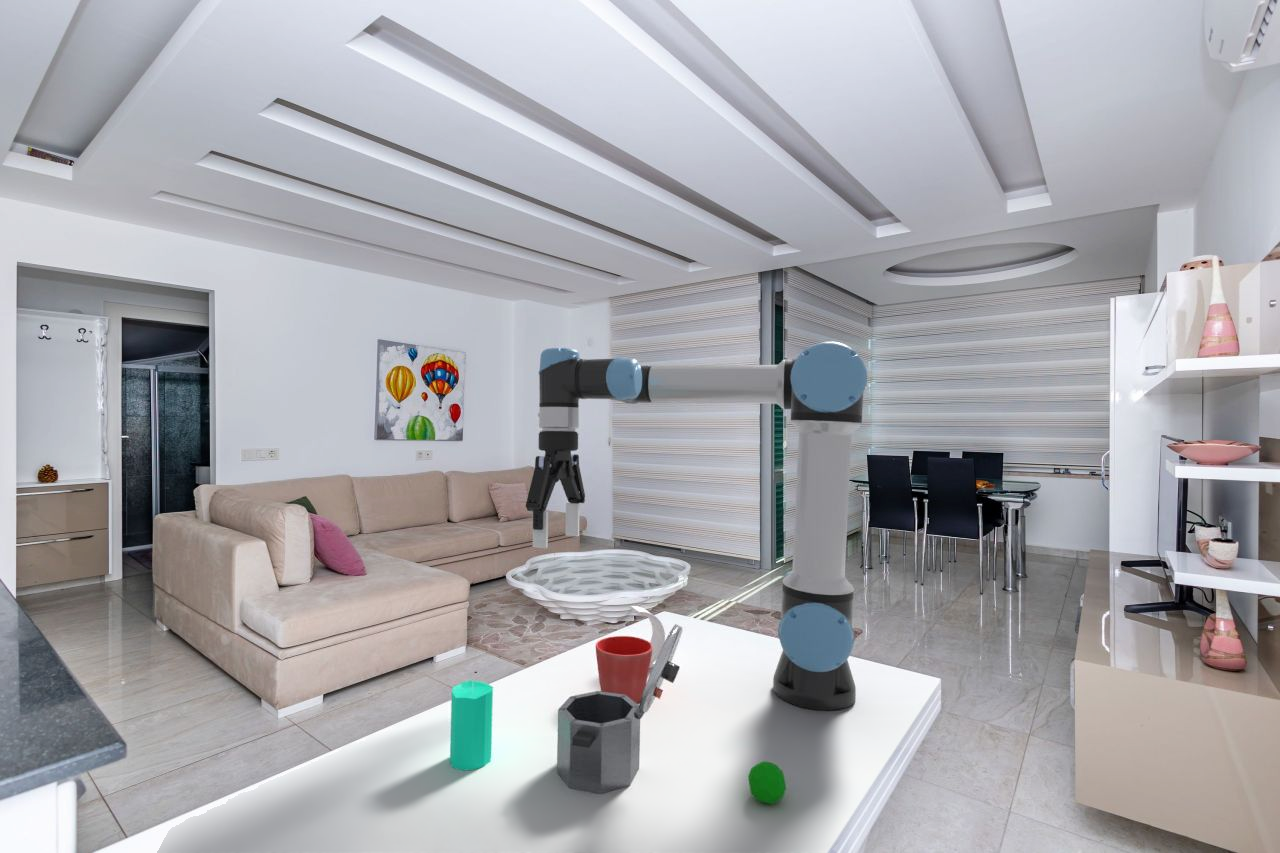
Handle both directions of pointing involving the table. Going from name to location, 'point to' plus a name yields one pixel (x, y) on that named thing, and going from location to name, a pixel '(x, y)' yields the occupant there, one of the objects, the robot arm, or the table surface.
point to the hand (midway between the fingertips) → (557, 541)
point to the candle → (471, 725)
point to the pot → (598, 741)
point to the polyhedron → (767, 782)
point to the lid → (660, 672)
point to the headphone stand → (653, 632)
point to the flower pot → (624, 665)
